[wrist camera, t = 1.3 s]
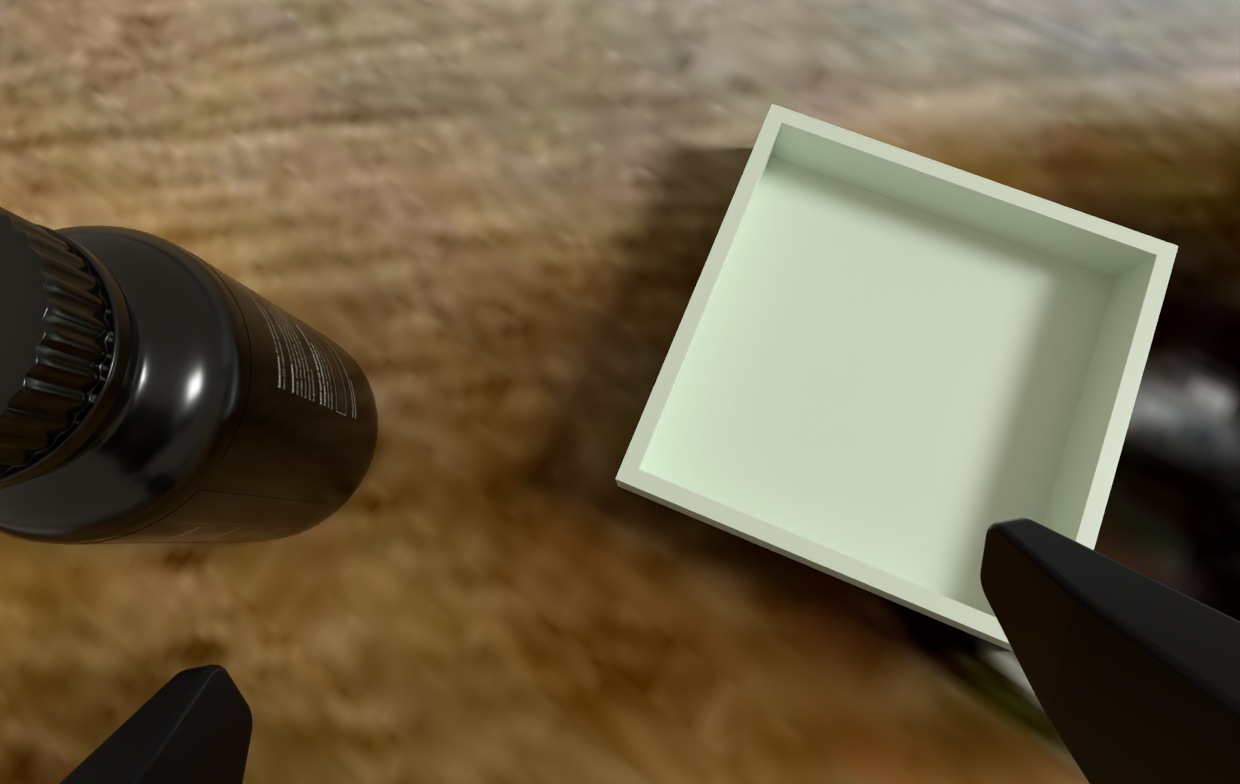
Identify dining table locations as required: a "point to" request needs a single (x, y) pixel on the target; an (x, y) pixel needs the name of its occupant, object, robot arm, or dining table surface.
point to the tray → (898, 367)
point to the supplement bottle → (163, 397)
